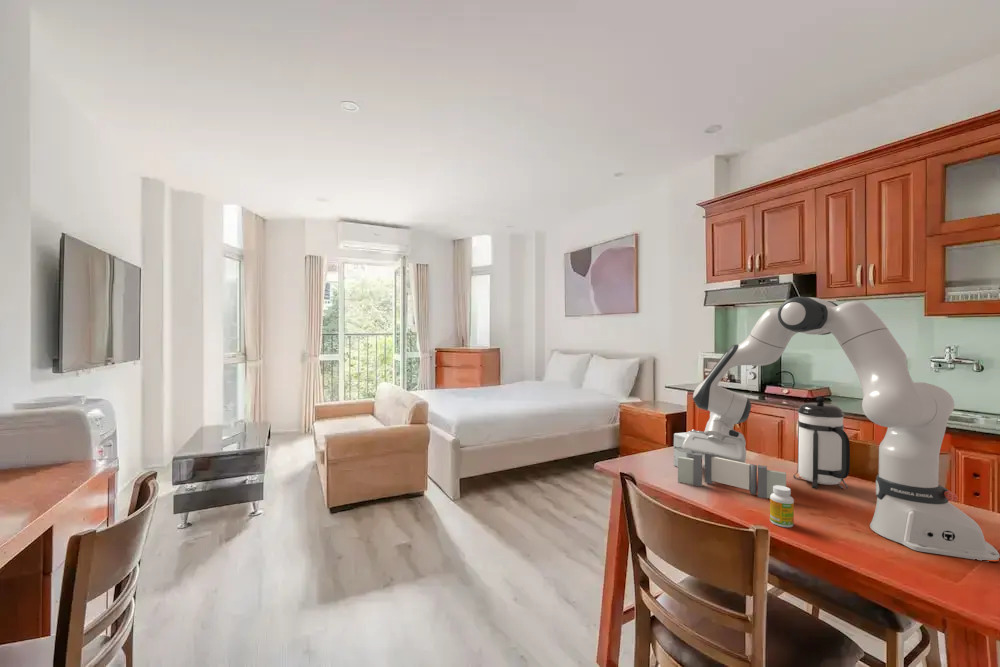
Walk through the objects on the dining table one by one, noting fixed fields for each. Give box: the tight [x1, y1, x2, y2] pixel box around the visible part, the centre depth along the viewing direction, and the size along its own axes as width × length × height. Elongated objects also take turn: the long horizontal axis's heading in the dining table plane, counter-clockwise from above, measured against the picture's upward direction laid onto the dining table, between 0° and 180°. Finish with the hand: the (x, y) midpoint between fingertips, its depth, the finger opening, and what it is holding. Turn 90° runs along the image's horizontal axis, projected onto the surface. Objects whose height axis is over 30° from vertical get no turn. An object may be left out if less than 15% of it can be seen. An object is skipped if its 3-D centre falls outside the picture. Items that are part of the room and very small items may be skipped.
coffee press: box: [793, 395, 851, 490], centre depth 144 cm, size 17×16×30 cm
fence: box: [677, 453, 787, 500], centre depth 139 cm, size 31×2×10 cm, turn 58°
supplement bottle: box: [769, 485, 795, 528], centre depth 115 cm, size 5×5×10 cm
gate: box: [704, 452, 758, 495], centre depth 140 cm, size 15×2×10 cm, turn 44°
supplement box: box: [673, 431, 694, 468], centre depth 162 cm, size 7×7×13 cm
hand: (708, 468), depth 146 cm, fingers closed, pressing on gate
